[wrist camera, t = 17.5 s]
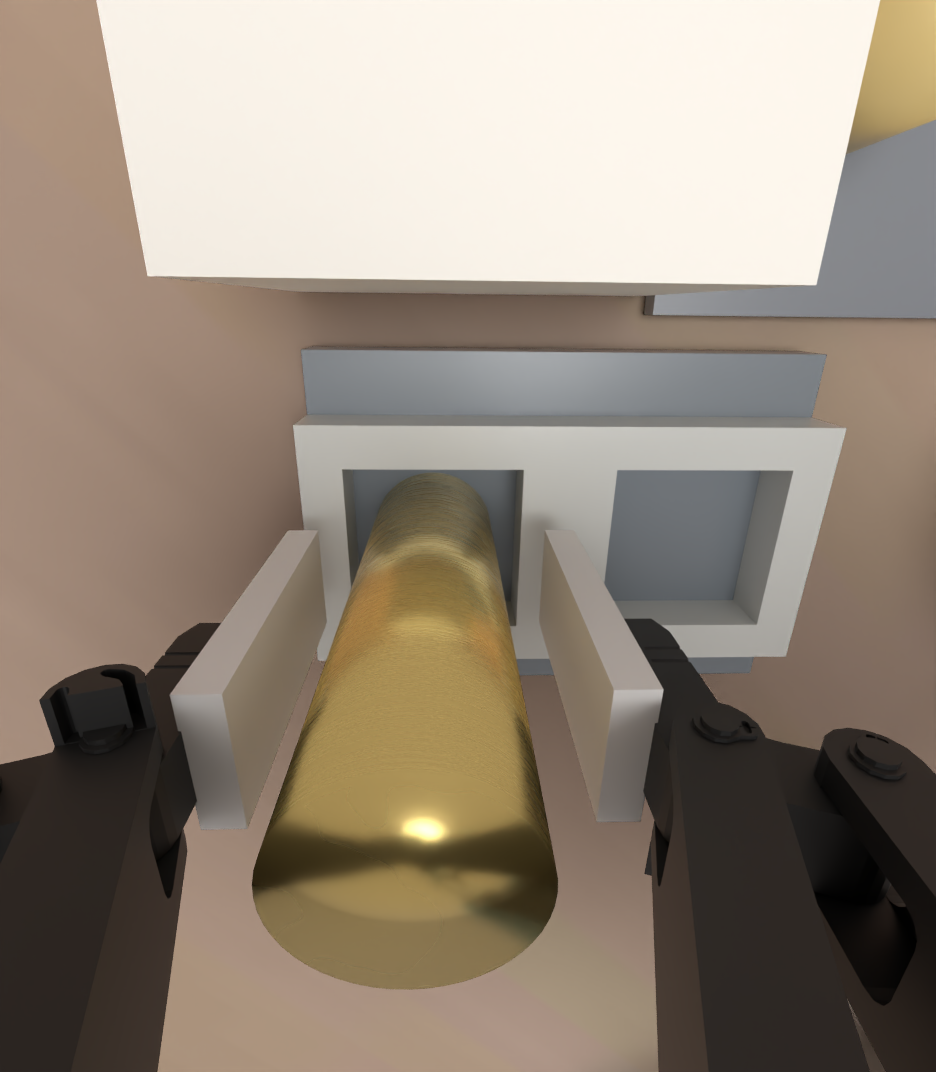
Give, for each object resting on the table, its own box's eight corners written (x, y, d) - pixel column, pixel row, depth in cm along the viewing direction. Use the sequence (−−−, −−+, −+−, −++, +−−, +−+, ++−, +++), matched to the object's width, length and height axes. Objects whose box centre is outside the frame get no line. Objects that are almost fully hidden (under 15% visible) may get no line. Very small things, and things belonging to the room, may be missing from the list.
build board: (731, 651, 22) (773, 702, 19) (339, 654, 21) (322, 707, 18) (798, 351, 17) (865, 358, 15) (312, 346, 17) (285, 353, 14)
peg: (488, 578, 18) (546, 987, 7) (378, 578, 18) (270, 992, 7) (492, 472, 17) (570, 778, 6) (373, 472, 17) (231, 780, 6)
